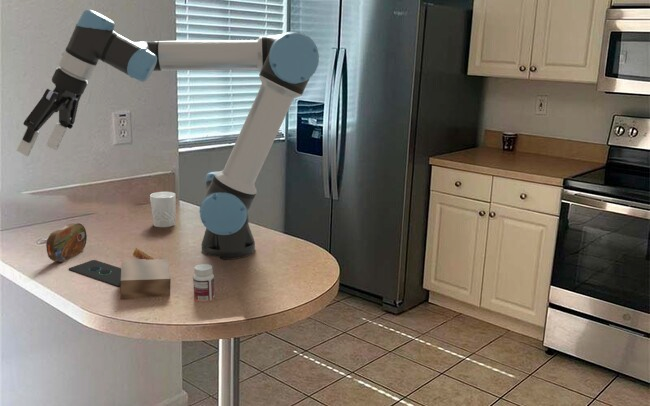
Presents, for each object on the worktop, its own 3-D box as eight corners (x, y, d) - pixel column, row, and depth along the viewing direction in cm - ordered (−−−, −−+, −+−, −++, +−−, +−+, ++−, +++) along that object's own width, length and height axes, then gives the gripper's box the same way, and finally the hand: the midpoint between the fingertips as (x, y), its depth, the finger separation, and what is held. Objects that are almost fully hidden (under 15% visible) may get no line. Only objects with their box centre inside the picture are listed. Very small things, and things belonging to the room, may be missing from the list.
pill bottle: (205, 294, 146) (204, 261, 143) (219, 300, 143) (218, 266, 141) (189, 300, 142) (188, 267, 140) (203, 306, 139) (202, 272, 137)
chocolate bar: (140, 254, 172) (140, 246, 171) (160, 266, 163) (160, 258, 163) (131, 256, 170) (131, 248, 170) (151, 268, 162) (151, 260, 161)
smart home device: (94, 258, 163) (146, 275, 153) (94, 264, 164) (146, 281, 154) (66, 268, 157) (119, 285, 146) (67, 274, 157) (119, 292, 147)
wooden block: (167, 277, 153) (168, 259, 152) (170, 297, 143) (170, 278, 142) (121, 278, 150) (121, 260, 148) (120, 300, 140) (120, 280, 138)
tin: (56, 266, 161) (53, 236, 159) (45, 265, 161) (42, 235, 159) (88, 247, 175) (86, 219, 173) (78, 246, 176) (76, 218, 173)
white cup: (151, 221, 200) (149, 192, 197) (175, 220, 202) (174, 191, 200) (152, 229, 193) (150, 198, 190) (177, 227, 195) (176, 197, 192)
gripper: (82, 67, 158) (49, 138, 162) (31, 63, 133) (-6, 147, 137) (108, 81, 158) (74, 152, 162) (62, 80, 134) (23, 164, 138)
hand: (37, 150), depth 150 cm, fingers open, 13 cm apart
